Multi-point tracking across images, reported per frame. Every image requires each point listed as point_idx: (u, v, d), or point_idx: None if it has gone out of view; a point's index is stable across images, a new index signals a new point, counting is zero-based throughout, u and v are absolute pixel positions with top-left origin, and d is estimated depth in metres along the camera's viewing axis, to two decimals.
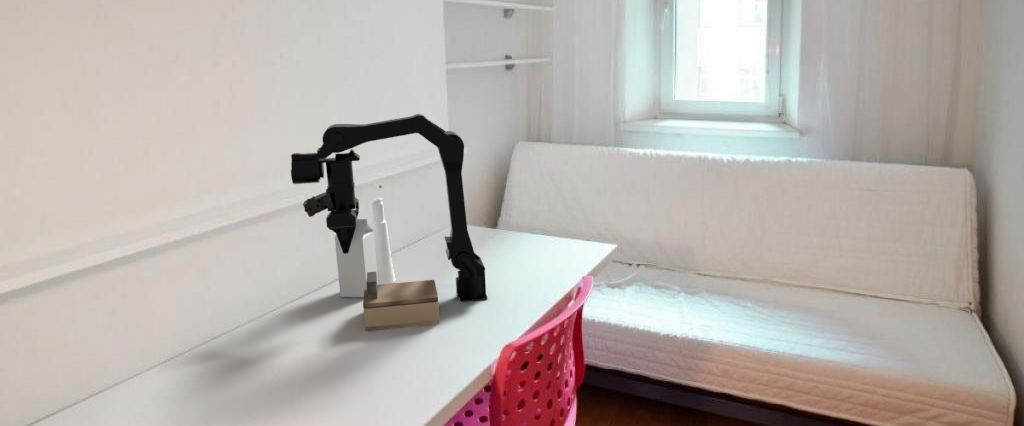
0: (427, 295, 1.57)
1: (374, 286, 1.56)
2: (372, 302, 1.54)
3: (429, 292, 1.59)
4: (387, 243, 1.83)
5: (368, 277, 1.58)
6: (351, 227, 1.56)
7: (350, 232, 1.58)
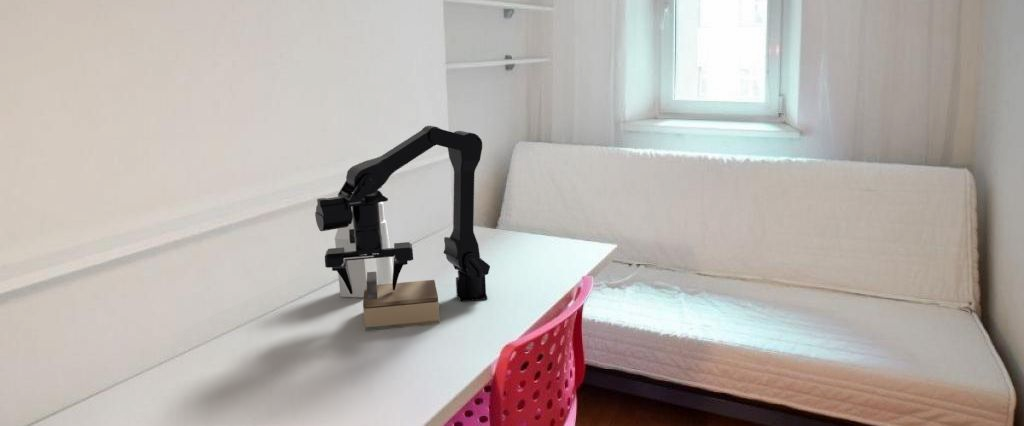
0: (427, 295, 1.57)
1: (374, 286, 1.56)
2: (372, 302, 1.54)
3: (429, 292, 1.59)
4: (387, 243, 1.83)
5: (368, 277, 1.58)
6: (332, 268, 1.55)
7: None
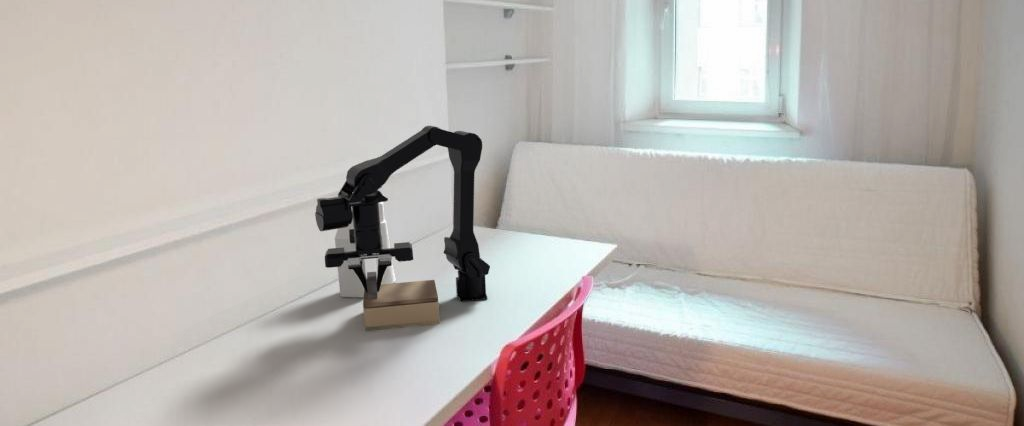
0: (427, 295, 1.57)
1: (374, 286, 1.56)
2: (372, 302, 1.54)
3: (429, 292, 1.59)
4: (387, 243, 1.83)
5: (368, 277, 1.58)
6: (348, 267, 1.55)
7: None
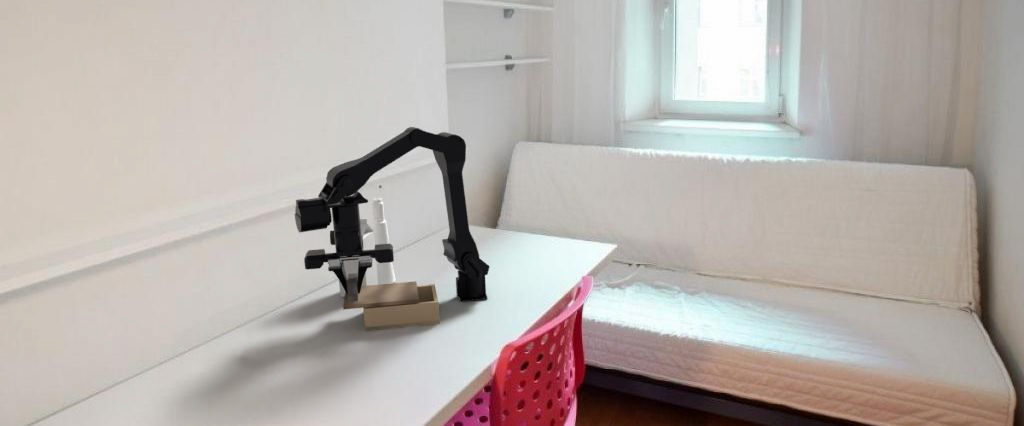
0: (408, 297, 1.57)
1: (354, 288, 1.55)
2: (352, 304, 1.54)
3: (410, 294, 1.58)
4: (387, 243, 1.83)
5: (348, 279, 1.58)
6: (328, 269, 1.55)
7: None
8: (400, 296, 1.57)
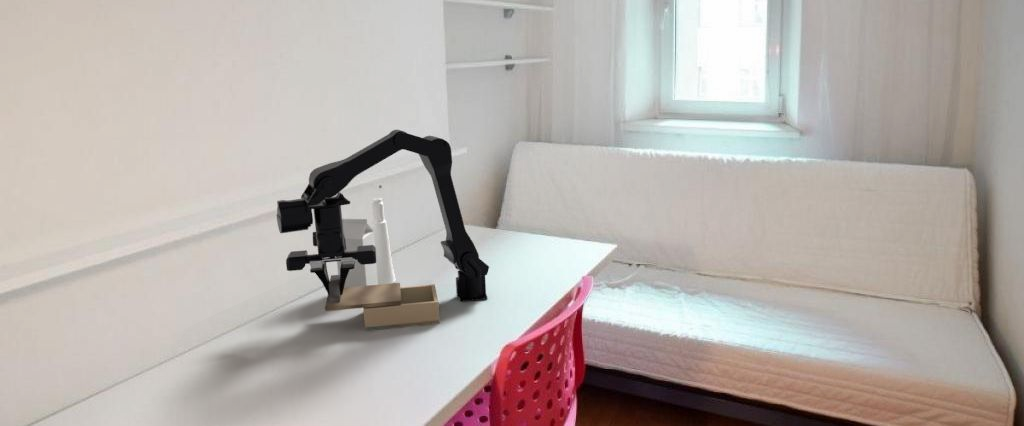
0: (390, 298, 1.56)
1: (336, 289, 1.54)
2: (334, 306, 1.53)
3: (393, 296, 1.58)
4: (387, 243, 1.83)
5: (331, 280, 1.57)
6: None
7: None
8: (383, 298, 1.57)
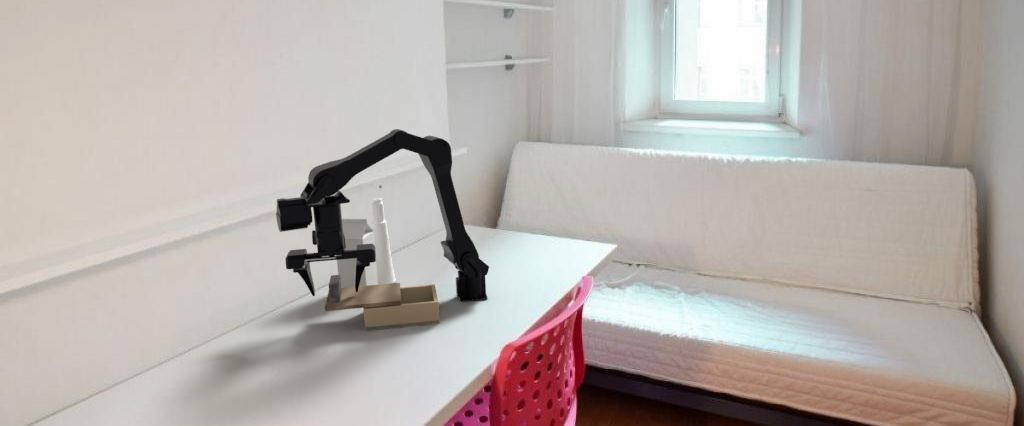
0: (390, 298, 1.56)
1: (336, 289, 1.54)
2: (334, 306, 1.53)
3: (393, 296, 1.58)
4: (387, 243, 1.83)
5: (331, 280, 1.57)
6: None
7: None
8: (382, 298, 1.57)
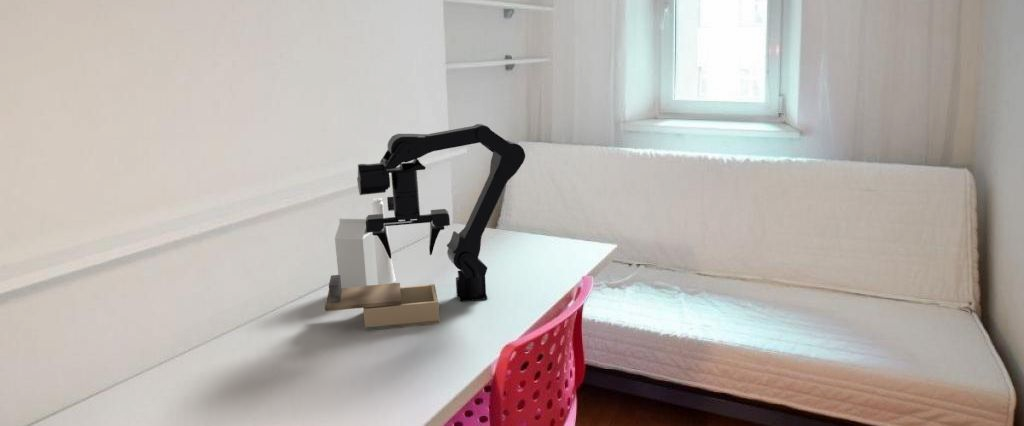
0: (390, 298, 1.56)
1: (336, 289, 1.54)
2: (334, 306, 1.53)
3: (393, 296, 1.58)
4: None
5: (331, 280, 1.57)
6: None
7: None
8: (382, 298, 1.57)
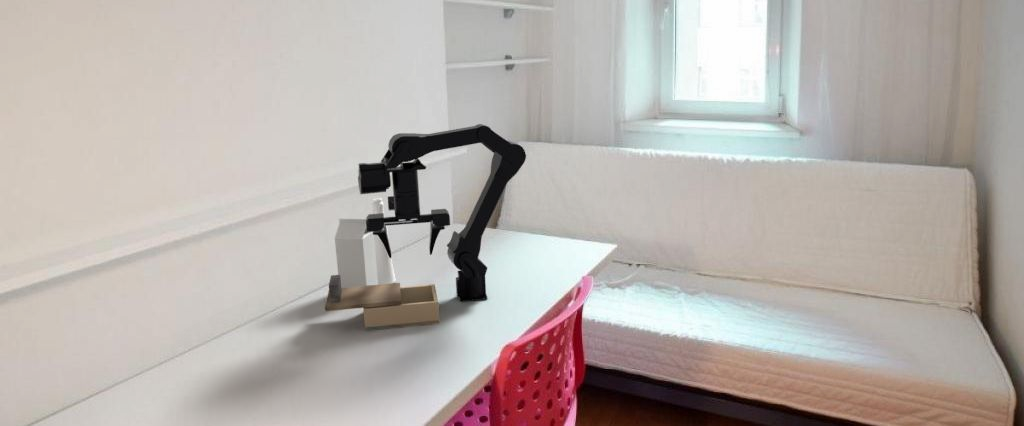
0: (390, 298, 1.56)
1: (336, 289, 1.54)
2: (334, 306, 1.53)
3: (393, 296, 1.58)
4: None
5: (331, 280, 1.57)
6: (373, 232, 1.62)
7: None
8: (382, 298, 1.57)
